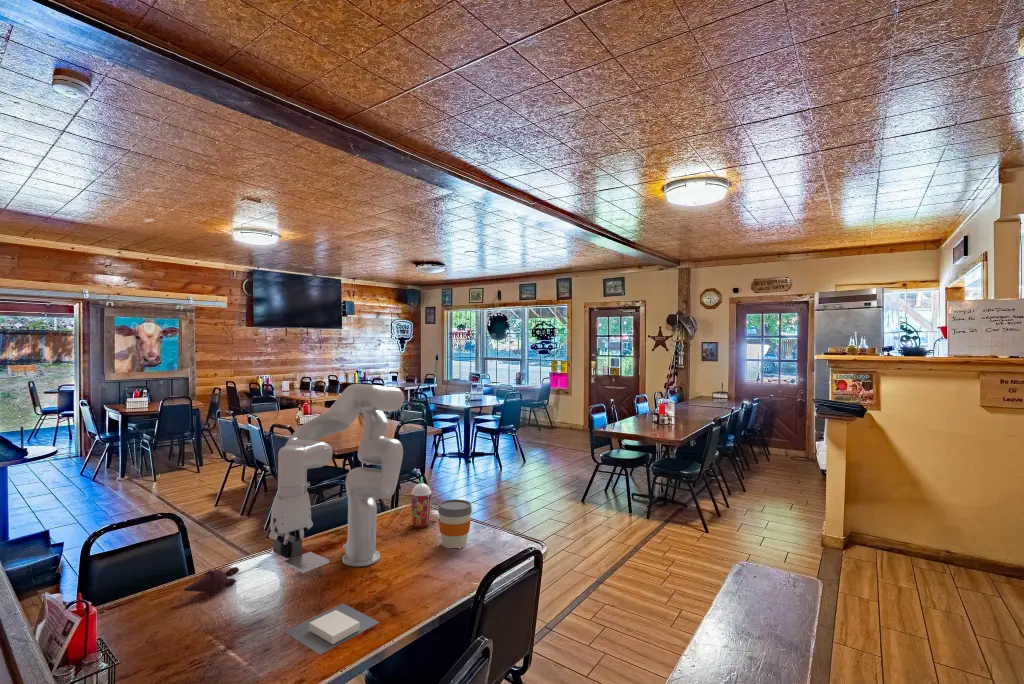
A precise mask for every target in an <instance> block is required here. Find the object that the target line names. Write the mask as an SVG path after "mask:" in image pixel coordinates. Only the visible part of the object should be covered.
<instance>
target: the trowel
mask: <svg viewBox="0 0 1024 684" xmlns="http://www.w3.org/2000/svg"><path fill="white" fill-rule="evenodd" d="M277 535H279V534H278V532H277ZM272 540H273V541H272V546H273V547H272V550H273V551H272V552H273V553H275V554H277V555H278V556H281V557H283V556H282V555H281V543H280V542H279V541H277V540H275V539H272ZM288 543H289V544H290V557H289V558H286V559H287V560H284V561H283V565H285V566H287V567H289V568H291V569H293V570H296V571H297V572H300V573H301V574H304V573H307V572H309V571H312V570H314V569H317V568H319V567H322V566H324V565H326V564H329V563H330V559H328V558H326V557H324V556H321V555H319V554H317V553H314V552H312V551H309V552H305V553H303V539H302V540H301V539H299V538H297V537H295V535H292V534H289V537H288Z"/></svg>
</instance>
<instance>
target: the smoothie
mask: <svg viewBox="0 0 1024 684" xmlns="http://www.w3.org/2000/svg"><path fill="white" fill-rule="evenodd" d="M423 479H424V478H423V476H420V482H419V483H417V484H416V485H415V486H414V487H413V488H412V491H411V492H410V495H411V498H410V499H411V519H412V524H413V527H415V528H418V527H422V528H425V526H426V527H427V526H429V525H428V524H429V523H430V513H431V503H432V493H433V492H432V490H431V488H430V486H429V485H428V484H426V483H424V482H423Z"/></svg>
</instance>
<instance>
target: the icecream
mask: <svg viewBox="0 0 1024 684" xmlns="http://www.w3.org/2000/svg"><path fill="white" fill-rule="evenodd" d="M239 571H240V569H239V567H237V566H234V567H231V568H229V569H228V570H226V571H225V572H224V571H223V570H220V569H214V570H213V569H212V570H211V569H210V570H208V571H206V572H205V573H204V574H203V577H201V578H199V579H197V580H196V581H195V582H194V581H193V583H191V584H190V585H187V587H185V588H183V591H184V592H195V593H196V592H197V593H198V592H199V593H206V594H207V593H208V594H207V595H209V594H210V595H209V596H211V595H212V596H213V595H214V594H217V593H218V592H220V591H222V590H223V589H224V588H225V587H231V586H233V585H235V584H236V582H237V580H236V579H235V578H231V577H232V576H235V575H237V574H238V573H239ZM228 577H230V578H228ZM230 585H231V586H230Z"/></svg>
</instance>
